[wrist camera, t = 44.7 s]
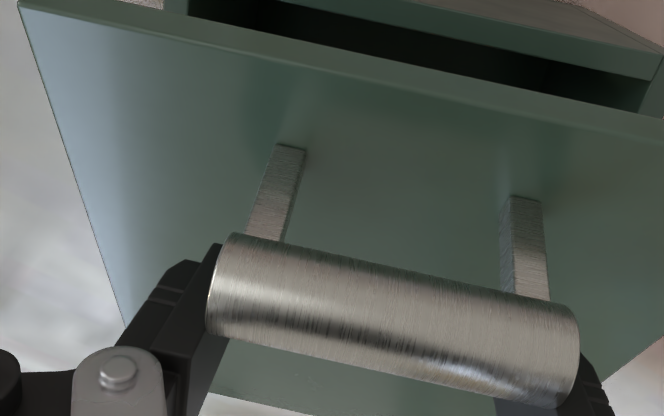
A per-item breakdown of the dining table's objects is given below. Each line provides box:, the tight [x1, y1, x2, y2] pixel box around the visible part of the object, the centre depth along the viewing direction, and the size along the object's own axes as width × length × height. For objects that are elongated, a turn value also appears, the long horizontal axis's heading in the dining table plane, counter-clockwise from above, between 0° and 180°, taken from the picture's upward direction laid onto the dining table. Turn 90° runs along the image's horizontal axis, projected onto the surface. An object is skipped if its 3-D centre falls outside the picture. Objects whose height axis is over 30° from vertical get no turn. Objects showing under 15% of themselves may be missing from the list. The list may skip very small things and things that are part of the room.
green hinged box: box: [163, 0, 664, 119], centre depth 25 cm, size 17×16×11 cm
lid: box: [17, 0, 664, 416], centre depth 16 cm, size 17×16×5 cm
